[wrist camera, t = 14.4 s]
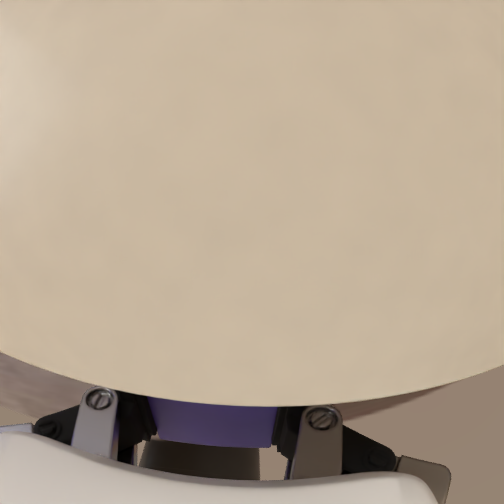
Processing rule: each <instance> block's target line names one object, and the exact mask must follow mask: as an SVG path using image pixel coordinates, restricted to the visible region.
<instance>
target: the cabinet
mask: <svg viewBox="0 0 504 504" xmlns="http://www.w3.org/2000/svg"><path fill="white" fill-rule="evenodd" d="M0 352H2V353H4V354H6V355H9V356H11V357H13V358H16V359H18V360H21V361H23V362H26V363H28V364H31V365H33V366H36V367H39V368H42V369H44V370H47V371H50V372H53V373H56V374H59V375H62V376H66V377H69V378H72V379H76V380H79V381H83V382H86V383H90V384H94V385H98V386H102V387H106V388H110V389H114V390H119V391H124V392H129V393H134V394H139V395H144V396H150V397H156V398H163V399H169V400H177V401H185V402H194V403H204V404H216V405H231V406H261V407H281V406H310V405H325V404H337V403H347V402H356V401H364V400H371V399H378V398H384V397H390V396H396V395H401V394H406V393H411V392H416V391H420V390H425V389H429V388H433V387H437V386H441V385H445V384H449V383H452V382H456V381H459V380H463V379H466V378H469V377H472V376H475V375H478V374H481V373H484V372H487V371H490V370H492V369H495V368H498V367H501V366H503V365H504V0H0Z"/></svg>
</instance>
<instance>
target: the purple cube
mask: <svg viewBox="0 0 504 504" xmlns="http://www.w3.org/2000/svg"><path fill="white" fill-rule="evenodd" d="M147 398H148V402H149V405H150V409H151V412H152V415H153V418H154V421H155V424H156V427H157V432H158V435H159V438H160V439H165V440H171V441H177V442H184V443H192V444H201V445H212V446H225V447H249V448H269V447H271V444H272V441H271V439H272V434H273V429H274V423H275V418H276V413H277V408H278V407H261V406H231V405H216V404H204V403H194V402H185V401H177V400H169V399H163V398H156V397H150V396H147Z"/></svg>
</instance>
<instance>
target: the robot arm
mask: <svg viewBox="0 0 504 504" xmlns="http://www.w3.org/2000/svg"><path fill="white" fill-rule="evenodd" d="M156 433H157V427H156V424H155V421H154V418H153V415H152V412H151V409H150V405H149V402H148V398H147V396H144V395H139V394H134V393H129V392H124V391H119V390H114V389H110V388H106V387H102V386H95V387H92V388H90V389H88V390H87V391H86V392H85V393H84V394H83V397H82V400H81V403H80V405H78V406H75V407H72V408H69V409H66V410H63V411H60V412H57V413H54V414H51V415H48V416H44V417H42V418H40V419H39V420H38V421H37V422H36V424H35V425H33V424H32V423H25V424H16V425H6V426H0V504H445V503H446V498H447V495H448V490H449V486H450V481H451V473H450V470H449V469H448V468H447V467H446V466H444V465H441V464H437V463H432V462H428V461H424V460H419V459H415V458H411V457H407V456H404V455H402V456H401V457H397V456H395V454H394V452H393V451H392V450H391V449H389V448H388V447H386V446H384V445H382V444H380V443H378V442H376V441H374V440H371V439H369V438H368V437H366V436H364V435H362V434H359V433H358V432H356V431H354V430H352V429H350V428H348V427H346V426H344V425H343V424H342V415H341V414H340V412H339V411H338V410H337V409H336V408H335V407H333V406H331V405H328V404H325V405H310V406H281V407H278V408H277V413H276V418H275V423H274V429H273V434H272V439H271V441H272V445H277V452H281V454H282V455H283V456H285V457H286V458H288V461H287V466H286V471H285V476H284V480H269V481H252V480H227V479H213V478H203V477H194V476H186V475H180V474H173V473H167V472H162V471H157V470H152V469H147V468H142V467H138V466H137V444H138V443H140V442H142V440H145V441H150V439H151V436H152V435H156Z"/></svg>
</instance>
